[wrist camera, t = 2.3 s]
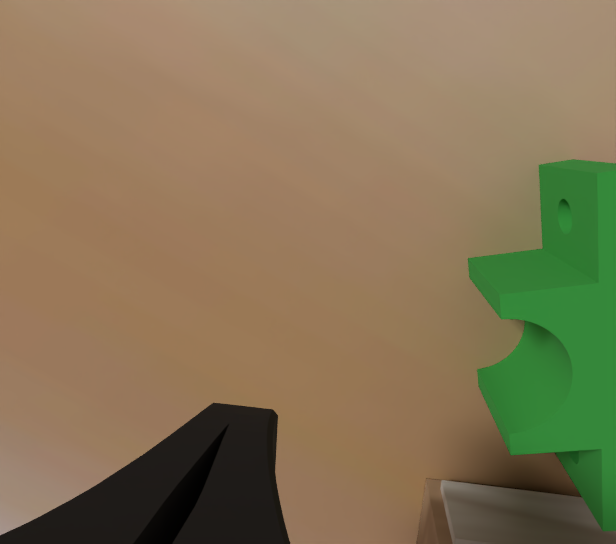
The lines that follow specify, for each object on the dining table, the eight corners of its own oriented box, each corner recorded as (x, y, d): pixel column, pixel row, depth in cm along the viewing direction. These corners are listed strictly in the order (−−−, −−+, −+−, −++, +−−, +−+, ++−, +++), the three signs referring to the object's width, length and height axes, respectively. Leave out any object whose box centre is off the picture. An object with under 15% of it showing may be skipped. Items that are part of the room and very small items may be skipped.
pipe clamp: (459, 176, 17) (492, 186, 13) (570, 159, 17) (645, 163, 12) (483, 451, 20) (517, 538, 15) (580, 444, 19) (644, 532, 15)
